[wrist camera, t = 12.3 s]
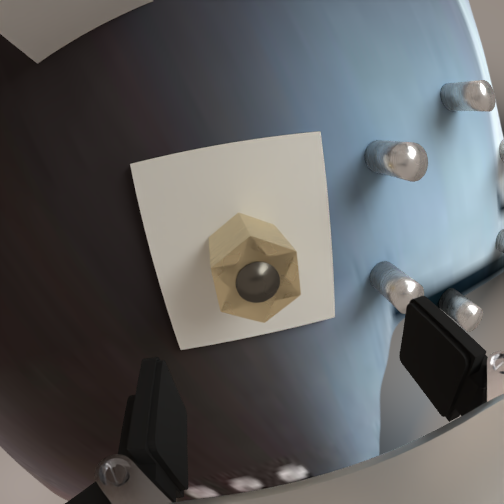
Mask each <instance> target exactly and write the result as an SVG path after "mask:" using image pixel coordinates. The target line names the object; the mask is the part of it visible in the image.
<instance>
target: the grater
mask: <svg viewBox="0 0 504 504" xmlns="http://www.w3.org/2000/svg"><path fill="white" fill-rule="evenodd" d="M152 1H153V0H0V34H1V35H2V36H3V37H5V38H6V39H7V40H8V41H10V42H11V43H12V44H13V45H15V46H16V47H17V48H18V49H20V50H21V51H22V52H23V53H25V54H26V55H27V56H28V57H30V58H31V59H32V60H33V61H35V62H36V63H37V64H38V63H39V62H41V61H42V60H43V59H45V58H46V57H48V56H49V55H51V54H52V53H54V52H56V51H57V50H59V49H60V48H62V47H63V46H65V45H67V44H68V43H70V42H72V41H73V40H75V39H77V38H78V37H80V36H82V35H84V34H85V33H87V32H89V31H91V30H93V29H94V28H96V27H98V26H100V25H102V24H104V23H106V22H108V21H110V20H112V19H114V18H116V17H118V16H120V15H122V14H124V13H127V12H129V11H131V10H133V9H136V8H138V7H140V6H142V5H145V4H147V3H150V2H152Z"/></svg>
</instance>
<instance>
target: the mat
mask: <svg viewBox="0 0 504 504" xmlns="http://www.w3.org/2000/svg"><path fill="white" fill-rule="evenodd" d="M130 166H131V171H132V176H133V181H134V186H135V190H136V195H137V199H138V204H139V208H140V212H141V216H142V221H143V225H144V229H145V233H146V237H147V240H148V244H149V248H150V252H151V256H152V259H153V263H154V267H155V270H156V274H157V277H158V281H159V284H160V287H161V291H162V294H163V297H164V301H165V304H166V307H167V310H168V314H169V317H170V320H171V323H172V326H173V329H174V332H175V335H176V338H177V341H178V344H179V347H180V350H184V349H190V348H196V347H201V346H207V345H213V344H218V343H223V342H228V341H233V340H239V339H243V338H248V337H253V336H258V335H262V334H267V333H272V332H276V331H280V330H285V329H289V328H293V327H298V326H302V325H306V324H310V323H314V322H318V321H322V320H326V319H330V318H333V317H335V305H334V279H333V259H332V243H331V229H330V216H329V204H328V194H327V184H326V174H325V165H324V156H323V148H322V140H321V132H308V133H299V134H290V135H282V136H274V137H266V138H259V139H252V140H246V141H239V142H233V143H227V144H222V145H216V146H210V147H205V148H200V149H195V150H190V151H185V152H180V153H175V154H170V155H166V156H161V157H157V158H153V159H148V160H144V161H140V162H136V163H132V164H130ZM238 212H239V213H242V214H245V215H248V216H251V217H254V218H256V219H259V220H262V221H265V222H268V223H271V224H274V225H275V226H276V227H277V228H278V230H279V231H280V232H281V233H282V234H283V236H284V237H285V238H286V239H287V240H288V242H289V243H290V244H291V245H292V246H293V248H294V249H295V250H296V251H297V260H298V269H299V279H300V289H301V295H300V296H299V297H298V298H296V299H295V300H294V301H292V302H291V303H290V304H289V305H287V306H286V307H285V308H283V309H282V310H281V311H280V312H278V313H277V314H276V315H274V316H273V317H272V318H270V319H269V320H268V321H266V322H265V323H262V322H258V321H254V320H250V319H246V318H242V317H238V316H235V315H231V314H227V313H223V312H220V307H219V303H218V299H217V294H216V290H215V285H214V281H213V277H212V272H211V266H210V252H209V237H210V236H211V235H212V234H213V233H214V232H216V231H217V230H218V229H219V228H220V227H221V226H223V225H224V224H225V223H226V222H227V221H229V220H230V219H231V218H232V217H233V216H235V215H236V214H237V213H238Z"/></svg>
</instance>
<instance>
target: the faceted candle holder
mask: <svg viewBox="0 0 504 504" xmlns="http://www.w3.org/2000/svg"><path fill="white" fill-rule="evenodd" d="M209 252H210V266H211V272H212V277H213V281H214V285H215V290H216V294H217V299H218V303H219V307H220V312H223V313H227V314H231V315H235V316H238V317H242V318H246V319H250V320H254V321H258V322H262V323H265V322H266V321H268V320H269V319H270V318H272V317H273V316H274V315H276V314H277V313H278V312H280V311H281V310H282V309H283V308H285V307H286V306H287V305H289V304H290V303H291V302H292V301H294V300H295V299H296V298H298V297H299V296H300V295H301V289H300V279H299V269H298V260H297V251H296V250H295V249H294V248H293V246H292V245H291V244H290V243H289V242H288V240H287V239H286V238H285V237H284V236H283V234H282V233H281V232H280V231H279V230H278V228H277V227H276V226H275V225H274V224H271V223H268V222H265V221H262V220H259V219H256V218H254V217H251V216H248V215H245V214H242V213H239V212H238V213H237V214H236V215H235V216H233V217H232V218H231V219H230V220H229V221H227V222H226V223H225V224H224V225H223V226H221V227H220V228H219V229H218V230H217V231H216V232H214V233H213V234H212V235H211V236H210V237H209Z"/></svg>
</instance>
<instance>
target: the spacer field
mask: <svg viewBox="0 0 504 504" xmlns="http://www.w3.org/2000/svg"><path fill="white" fill-rule="evenodd" d="M441 99H442V102H443V104H444V106H445V107H446V108H447V109H448V110H450V111H492V110H493V109H494V106H495V94H494V91H493V89H492V87H491V85H490V84H489V83H488V82H487V81H485V80H479V81H468V82H458V83H449V84H445V85H443V87H442V89H441ZM500 156H501V159H502V161H503V162H504V140H502V142H501V144H500ZM365 161H366V164H367V166H368V167H369V169H370V170H372V171H373V172H376V173H380V174H384V175H388V176H392V177H396V178H400V179H404V180H408V181H418V180H420V179H421V178H422V177H423V176H424V175H425V173H426V170H427V166H428V158H427V154H426V152H425V150H424V149H423V147H422V146H420V145H419V144H417V143H411V142H398V141H382V140H376V141H373V142H371V143H370V144H369V145H368V147H367V148H366V151H365ZM496 248H497V250H499V251H501V252H503V253H504V229H502V230H501V231H500V232H499V234H498V236H497V239H496ZM370 282H371V285H372V286H373V287H374V288H375V289H376V290H378V291H379V292H380V293H381V294H382V295H383V296H384V297H385V298H386V299H387V300H388V301H389V302H390V303H391V304H392V305H394V306H395V307H396V308H397V309H398V310H399V311H400V312H401V313H404V314H406V307H407V305H408V304H409V302H410V300H412V299H414V298H417V297H420V296H424V289H423V287H422V286H421V285H420V284H419V283H417V282H416V281H415V280H413V279H412V278H411V277H409V276H408V275H407V274H405V273H404V272H403V271H401V270H400V269H399V268H397V267H396V266H394V265H393V264H392V263H390V262H388V261H383V262H380V263H378V264H377V265H376V266H375V267H374V268H373V270H372V271H371V274H370ZM439 307H440V309H441V310H443V311H444V312H445V313H446V314H447V315H449V316H450V317H451V318H452V319H454V320H455V321H456V322H457V323H458V324H459V325H461V326H462V327H463V328H464V329H465V330H467V331H469V332H470V331H473V330H474V329H475V328H476V327H477V326H478V325H479V323H480V322H481V320H482V317H483V310H482V309H481V308H480V307H478V306H477V305H476V304H474V303H473V302H472V301H470V300H469V299H468V298H466V297H465V296H463V295H462V294H461V293H459V292H458V291H456V290H455V289H453V288H450V289H448V290H446V291H445V292H444V293H443V295H442V296H441V298H440V302H439Z"/></svg>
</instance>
